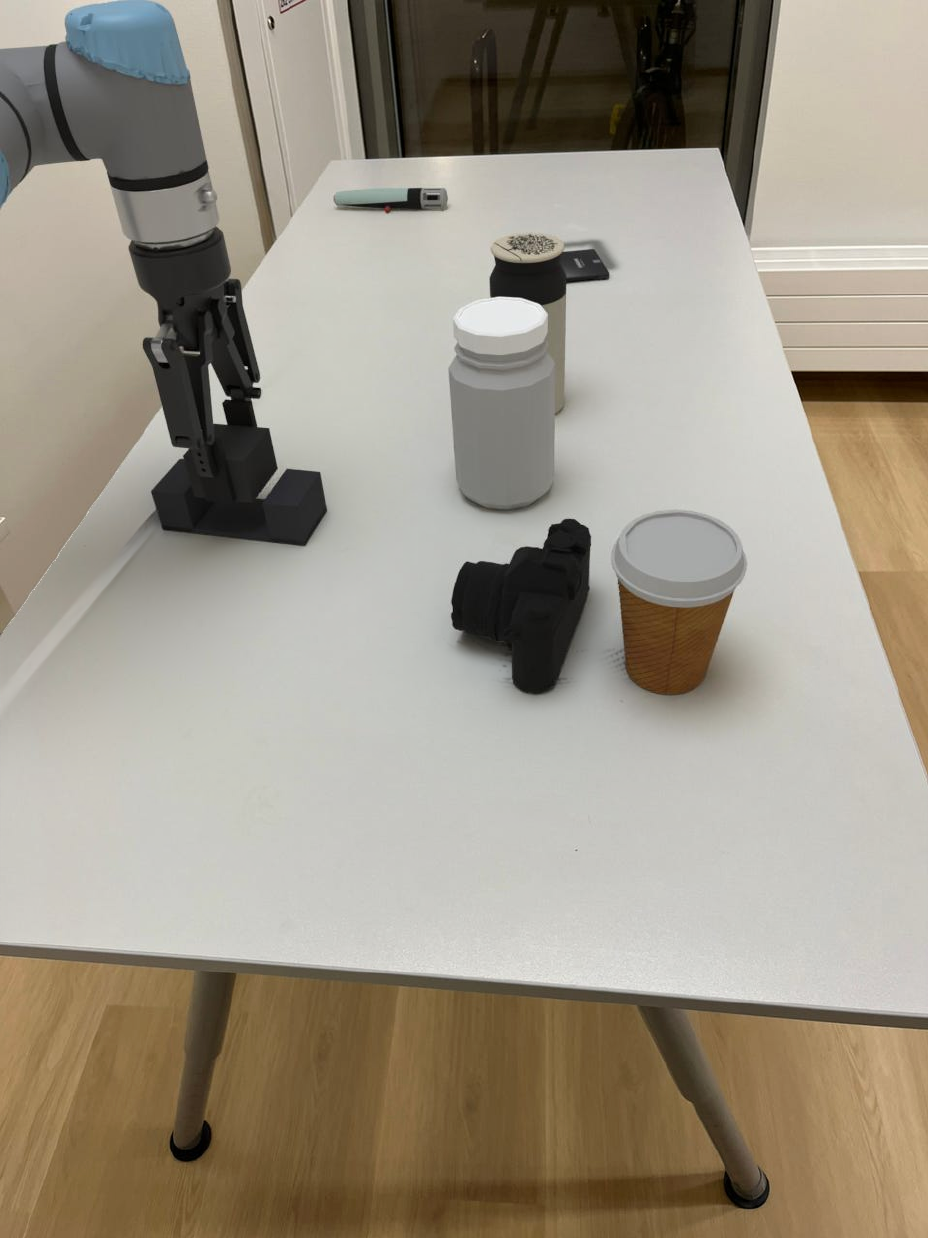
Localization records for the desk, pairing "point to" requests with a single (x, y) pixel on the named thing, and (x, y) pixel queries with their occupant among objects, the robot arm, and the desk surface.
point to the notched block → (244, 509)
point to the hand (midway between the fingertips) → (236, 480)
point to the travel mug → (535, 287)
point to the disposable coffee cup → (674, 595)
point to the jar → (502, 402)
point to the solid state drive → (583, 265)
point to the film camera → (529, 602)
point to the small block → (241, 460)
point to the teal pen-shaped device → (393, 198)
